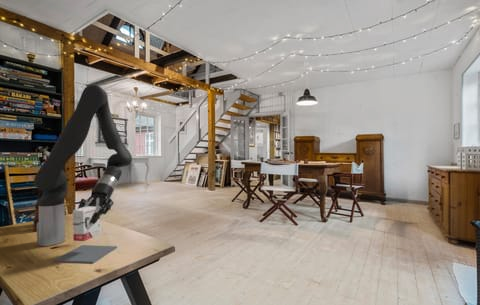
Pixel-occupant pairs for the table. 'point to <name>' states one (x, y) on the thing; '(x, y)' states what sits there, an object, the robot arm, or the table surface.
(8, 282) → the table surface
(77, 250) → the charcoal mat
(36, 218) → the binoculars
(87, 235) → the ink box
